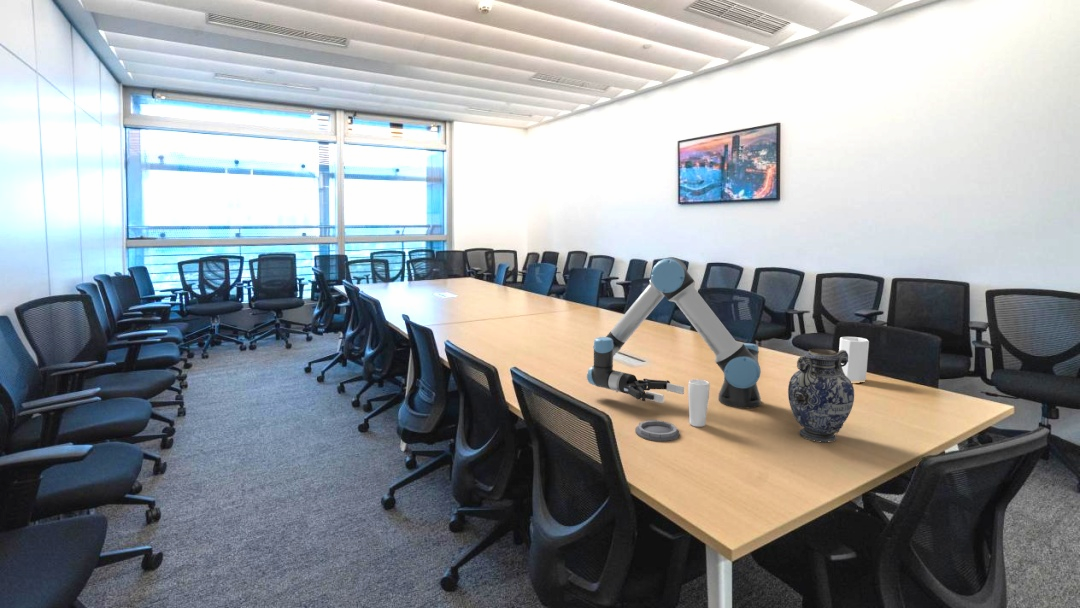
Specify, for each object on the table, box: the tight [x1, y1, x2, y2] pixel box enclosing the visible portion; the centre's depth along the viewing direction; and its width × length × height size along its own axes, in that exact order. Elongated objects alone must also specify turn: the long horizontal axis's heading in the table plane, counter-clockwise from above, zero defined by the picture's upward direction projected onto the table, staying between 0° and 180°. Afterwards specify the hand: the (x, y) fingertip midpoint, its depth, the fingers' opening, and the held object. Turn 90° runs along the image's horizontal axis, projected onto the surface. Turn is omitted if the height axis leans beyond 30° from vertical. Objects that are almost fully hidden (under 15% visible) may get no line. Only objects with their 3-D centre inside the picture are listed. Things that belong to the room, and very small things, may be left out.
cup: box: [838, 336, 870, 381], centre depth 232 cm, size 11×11×18 cm
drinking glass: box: [687, 378, 710, 428], centre depth 180 cm, size 7×7×15 cm
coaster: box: [635, 419, 680, 442], centre depth 173 cm, size 14×14×2 cm
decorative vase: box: [787, 348, 855, 443], centre depth 169 cm, size 21×19×28 cm
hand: (673, 394), depth 186 cm, fingers open, 13 cm apart
